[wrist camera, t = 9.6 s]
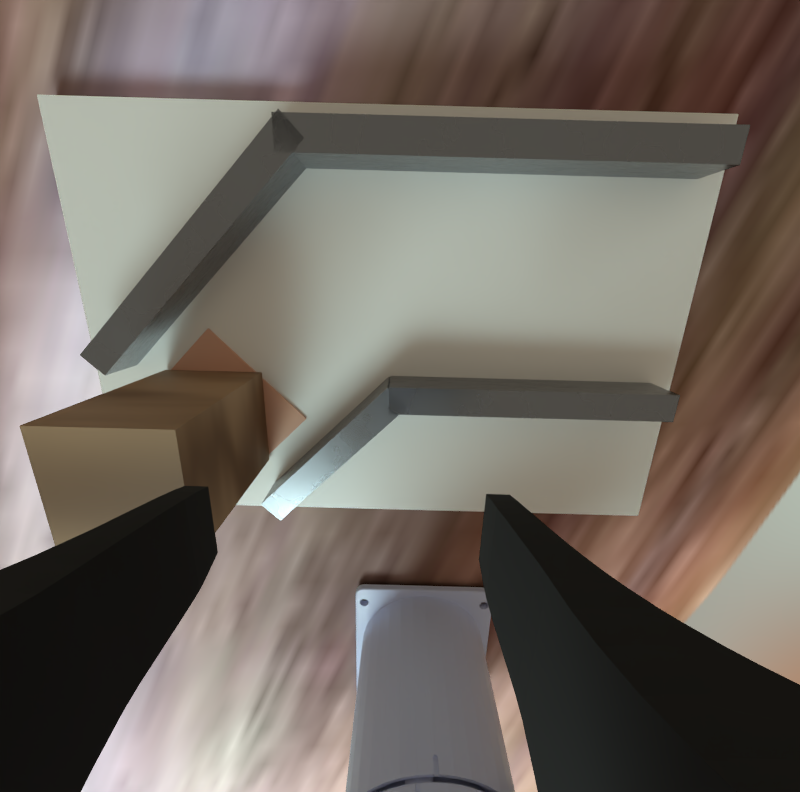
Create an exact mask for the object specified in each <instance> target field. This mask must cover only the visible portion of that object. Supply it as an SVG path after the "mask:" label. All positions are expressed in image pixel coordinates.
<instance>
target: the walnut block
mask: <svg viewBox="0 0 800 792" xmlns="http://www.w3.org/2000/svg"><path fill="white" fill-rule="evenodd" d="M20 429H21V432H22V436H23V439H24V442H25V446H26V449H27V452H28V456H29V459H30V463H31V466H32V469H33V473H34V476H35V479H36V483H37V486H38V489H39V493H40V496H41V499H42V503H43V506H44V510H45V513H46V516H47V520H48V523H49V526H50V530H51V533H52V536H53V540H54V543H55V546H57V545H59V544H61V543H63V542H65V541H68V540H70V539H72V538H74V537H76V536H78V535H81V534H83V533H85V532H87V531H89V530H91V529H94V528H96V527H98V526H100V525H102V524H104V523H106V522H108V521H110V520H112V519H114V518H116V517H118V516H120V515H122V514H124V513H126V512H128V511H130V510H133V509H135V508H137V507H139V506H141V505H143V504H145V503H147V502H149V501H151V500H153V499H155V498H157V497H159V496H162V495H164V494H166V493H168V492H170V491H173V490H175V489H178V488H180V487H183V486H208V488H209V495H210V502H211V509H212V516H213V523H214V530H215V532H216V531H217V530H218V528H219V527H220V526H221V524H222V523H223V522H224V520H225V519H226V517H227V516H228V515H229V513H230V512H231V511H232V509H233V508H234V507H235V505H236V504H237V503H238V501H239V500H240V499H241V497H242V496H243V494H244V493H245V492H246V490H247V489H248V488H249V486H250V485H251V484H252V482H253V481H254V480H255V478H256V477H257V476H258V474H259V473H260V471H261V470H262V469H263V467H264V466H265V465H266V463H267V462H268V461H269V448H268V437H267V426H266V414H265V403H264V391H263V380H262V372H232V371H193V370H164V371H161V372H158V373H156V374H153V375H151V376H148V377H145V378H143V379H140V380H138V381H135V382H132V383H130V384H127V385H125V386H122V387H119V388H117V389H114V390H112V391H109V392H106V393H104V394H101V395H99V396H96V397H93V398H91V399H88V400H86V401H83V402H80V403H78V404H75V405H72V406H70V407H67V408H65V409H62V410H59V411H57V412H54V413H52V414H49V415H46V416H44V417H41V418H39V419H36V420H33V421H31V422H28V423H26V424H23V425H20Z"/></svg>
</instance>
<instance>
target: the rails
mask: <svg viewBox="0 0 800 792" xmlns="http://www.w3.org/2000/svg"><path fill="white" fill-rule="evenodd" d="M271 115H272V117H271V118H270V119H269V121H268V122H267V123H266V124H265V125H264V127H263V128H262V129H261V130H260V132H259V133H258V134H257V135H256V137H255V138H254V139H253V140H252V142H251V143H250V144H249V145H248V147H247V148H246V149H245V150H244V152H243V153H242V154H241V155H240V157H239V158H238V159H237V160H236V162H235V163H234V164H233V165H232V167H231V168H230V169H229V170H228V171H227V173H226V174H225V175H224V176H223V178H222V179H221V180H220V181H219V183H218V184H217V185H216V186H215V188H214V189H213V190H212V191H211V193H210V194H209V195H208V196H207V198H206V199H205V200H204V201H203V203H202V204H201V205H200V206H199V208H198V209H197V210H196V211H195V213H194V214H193V215H192V216H191V217H190V219H189V220H188V221H187V222H186V224H185V225H184V226H183V227H182V229H181V230H180V231H179V232H178V234H177V235H176V236H175V237H174V239H173V240H172V241H171V242H170V244H169V245H168V246H167V247H166V249H165V250H164V251H163V252H162V254H161V255H160V256H159V257H158V259H157V260H156V261H155V262H154V263H153V265H152V266H151V267H150V268H149V270H148V271H147V272H146V273H145V275H144V276H143V277H142V278H141V280H140V281H139V282H138V283H137V285H136V286H135V287H134V288H133V290H132V291H131V292H130V293H129V295H128V296H127V297H126V298H125V300H124V301H123V302H122V303H121V305H120V306H119V307H118V308H117V309H116V311H115V312H114V313H113V314H112V316H111V317H110V318H109V319H108V321H107V322H106V323H105V324H104V326H103V327H102V328H101V329H100V331H99V332H98V333H97V334H96V336H95V337H94V338H93V339H92V341H91V342H90V343H89V344H88V346H87V347H86V348H85V349H84V351H83V352H82V353H81V354H80V355H81V356H82V357H83V358H84V359H85V360H87V361H88V362H89V363H90V364H91V365H93V366H94V367H95V368H96V369H97V370H99V371H100V372H101V373H102V374H104V375H108V374H111V373H114V372H117V371H121V370H124V369H127V368H130V367H133V366H136V365H138V364H139V362H140V361H141V360H142V359H143V358H144V357H145V355H146V354H147V353H148V352H149V351H150V350H151V348H152V347H153V346H154V345H155V344H156V343H157V341H158V340H159V339H160V338H161V337H162V336H163V334H164V333H165V332H166V331H167V330H168V329H169V327H170V326H171V325H172V324H173V323H174V322H175V320H176V319H177V318H178V317H179V316H180V315H181V314H182V312H183V311H184V310H185V309H186V308H187V307H188V305H189V304H190V303H191V302H192V301H193V300H194V298H195V297H196V296H197V295H198V294H199V293H200V291H201V290H202V289H203V288H204V287H205V286H206V284H207V283H208V282H209V281H210V280H211V279H212V277H213V276H214V275H215V274H216V273H217V272H218V270H219V269H220V268H221V267H222V266H223V265H224V263H225V262H226V261H227V260H228V259H229V258H230V256H231V255H232V254H233V253H234V252H235V251H236V249H237V248H238V247H239V246H240V245H241V244H242V242H243V241H244V240H245V239H246V238H247V237H248V235H249V234H250V233H251V232H252V231H253V230H254V229H255V227H256V226H257V225H258V224H259V223H260V222H261V220H262V219H263V218H264V217H265V216H266V215H267V213H268V212H269V211H270V210H271V209H272V208H273V206H274V205H275V204H276V203H277V202H278V201H279V199H280V198H281V197H282V196H283V195H284V194H285V192H286V191H287V190H288V189H289V188H290V187H291V185H292V184H293V183H294V182H295V181H296V180H297V178H298V177H299V176H300V175H301V174H302V173H303V171H304V170H305V169H306V168H309V169H346V170H382V171H419V172H455V173H492V174H528V175H565V176H601V177H638V178H674V179H699V178H702V177H705V176H708V175H711V174H714V173H717V172H720V171H723V170H726V169H729V168H732V167H735V166H738V165H740V163H741V159H742V155H743V151H744V147H745V143H746V140H747V136H748V132H749V128H750V125H737V124H701V123H664V122H628V121H591V120H555V119H518V118H482V117H446V116H409V115H373V114H336V113H300V112H281V111H280V110H279V109H277V111H276V112H271ZM679 397H680V395H678V394H675V393H673V392H671V391H668V390H666V389H664V388H661V387H659V386H656V385H654V384H652V383H640V382H603V381H566V380H529V379H492V378H455V377H419V376H391V377H388V378H387V379H386V380H385V381H384V382H382V383H381V384H380V385H379V386H378V387H377V388H376V389H375V390H374V391H373V392H372V393H371V394H369V395H368V396H367V397H366V398H365V399H364V400H363V401H362V402H361V403H360V404H359V405H358V406H357V407H355V408H354V409H353V410H352V411H351V412H350V413H349V414H348V415H347V416H346V417H345V418H344V419H343V420H341V421H340V422H339V423H338V424H337V425H336V426H335V427H334V428H333V429H332V430H331V431H330V432H328V433H327V434H326V435H325V436H324V437H323V438H322V439H321V440H320V441H319V442H318V443H317V444H316V445H314V446H313V447H312V448H311V449H310V450H309V451H308V452H307V453H306V454H305V455H304V456H303V457H302V458H300V459H299V460H298V461H297V462H296V463H295V464H294V465H293V466H292V467H291V468H290V469H289V470H287V471H286V472H285V473H284V474H283V475H282V476H281V477H280V478H279V479H278V480H277V481H276V482H275V483H274V484H273V486H272V488H271V489H270V491H269V492H268V494H267V496H266V497H265V499H264V500H263V502H262V503H261V505H262V506H263V507H265V508H266V509H267V510H268V511H270V512H271V513H272V514H273V515H274V516H276V517H277V518H278V519H279V520H282V519H283V518H284V517H285V516H286V515H287V514H288V513H289V512H291V511H292V510H293V509H294V508H295V507H296V506H297V505H298V504H299V503H301V502H302V501H303V500H304V499H305V498H306V497H307V496H308V495H310V494H311V493H312V492H313V491H314V490H315V489H316V488H317V487H319V486H320V485H321V484H322V483H323V482H324V481H325V480H326V479H328V478H329V477H330V476H331V475H332V474H333V473H334V472H335V471H337V470H338V469H339V468H340V467H341V466H342V465H343V464H344V463H346V462H347V461H348V460H349V459H350V458H351V457H352V456H353V455H355V454H356V453H357V452H358V451H359V450H360V449H361V448H362V447H364V446H365V445H366V444H367V443H368V442H369V441H370V440H371V439H373V438H374V437H375V436H376V435H377V434H378V433H379V432H380V431H382V430H383V429H384V428H385V427H386V426H387V425H388V424H389V423H391V422H392V421H393V420H394V419H395V418H396V417H397V416H398V415H429V416H466V417H503V418H540V419H577V420H614V421H651V422H673V420H674V416H675V413H676V409H677V405H678V401H679Z"/></svg>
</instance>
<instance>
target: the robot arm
mask: <svg viewBox="0 0 800 792" xmlns="http://www.w3.org/2000/svg"><path fill="white" fill-rule="evenodd" d="M217 553H218V551H217V544H216V537H215V530H214V523H213V516H212V509H211V502H210V495H209V488H208V486H183V487H180V488H178V489H175V490H173V491H170V492H168V493H166V494H164V495H162V496H159V497H157V498H155V499H153V500H151V501H149V502H147V503H145V504H143V505H141V506H139V507H137V508H135V509H133V510H130V511H128V512H126V513H124V514H122V515H120V516H118V517H116V518H114V519H112V520H110V521H108V522H106V523H104V524H102V525H100V526H98V527H96V528H94V529H91V530H89V531H87V532H85V533H83V534H81V535H78V536H76V537H74V538H72V539H70V540H68V541H65V542H63V543H61V544H59V545H57V546H54V547H52V548H50V549H48V550H46V551H44V552H41V553H39V554H37V555H35V556H32V557H30V558H28V559H25V560H23V561H21V562H18V563H16V564H13V565H11V566H9V567H6V568H4V569H1V570H0V792H81V790H82V788H83V786H84V784H85V782H86V780H87V778H88V776H89V774H90V772H91V770H92V768H93V766H94V765H95V763H96V761H97V759H98V757H99V755H100V753H101V752H102V750H103V748H104V746H105V744H106V742H107V740H108V738H109V737H110V735H111V733H112V731H113V729H114V727H115V725H116V724H117V722H118V720H119V718H120V716H121V714H122V712H123V711H124V709H125V707H126V705H127V704H128V702H129V701H130V699H131V697H132V696H133V694H134V692H135V691H136V689H137V687H138V686H139V684H140V682H141V681H142V679H143V678H144V676H145V675H146V673H147V672H148V670H149V668H150V667H151V665H152V664H153V662H154V661H155V659H156V658H157V656H158V655H159V653H160V652H161V650H162V648H163V647H164V645H165V644H166V642H167V641H168V639H169V638H170V636H171V635H172V633H173V631H174V630H175V628H176V627H177V625H178V624H179V622H180V621H181V619H182V617H183V616H184V614H185V613H186V611H187V610H188V608H189V606H190V605H191V603H192V602H193V600H194V599H195V597H196V595H197V594H198V592H199V590H200V589H201V587H202V585H203V583H204V580H205V578H206V576H207V574H208V572H209V570H210V568H211V566H212V564H213V562H214V559H215V557H216V555H217ZM479 562H480V568H481V573H482V579H483V585H484V587H450V586H413V585H376V584H362V585H360V586H358V587H357V590H356V673H357V695H356V704H355V713H354V722H353V731H352V740H351V749H350V758H349V767H348V776H347V785H346V792H515V790H514V785H513V781H512V776H511V772H510V767H509V762H508V758H507V753H506V749H505V744H504V739H503V735H502V730H501V726H500V721H499V716H498V712H497V707H496V703H495V698H494V694H493V689H492V684H491V680H490V675H489V671H488V666H487V661H486V651H487V643H488V635H489V627H490V619H491V616H492V620H493V623H494V626H495V630H496V633H497V636H498V639H499V643H500V646H501V649H502V652H503V655H504V659H505V662H506V665H507V668H508V672H509V675H510V678H511V681H512V685H513V688H514V691H515V694H516V698H517V702H518V705H519V709H520V713H521V717H522V720H523V725H524V730H525V734H526V739H527V743H528V748H529V752H530V757H531V762H532V766H533V771H534V775H535V780H536V785H537V790H538V792H800V685H799V684H797V683H795V682H793V681H791V680H789V679H787V678H785V677H783V676H781V675H779V674H777V673H775V672H773V671H771V670H769V669H767V668H765V667H763V666H761V665H758V664H757V663H755V662H753V661H751V660H749V659H747V658H745V657H744V656H742V655H740V654H738V653H736V652H734V651H732V650H730V649H728V648H727V647H725V646H723V645H721V644H719V643H717V642H716V641H714V640H712V639H711V638H709V637H707V636H705V635H704V634H702V633H700V632H698V631H696V630H695V629H693V628H691V627H689V626H688V625H686V624H684V623H682V622H681V621H679V620H677V619H676V618H674V617H672V616H671V615H669V614H667V613H666V612H664V611H662V610H661V609H659V608H658V607H656V606H654V605H653V604H651V603H650V602H648V601H647V600H645V599H644V598H642V597H641V596H639V595H638V594H636V593H635V592H633V591H631V590H630V589H628V588H627V587H625V586H624V585H622V584H621V583H620V582H618V581H617V580H615V579H614V578H612V577H611V576H609V575H608V574H607V573H605V572H604V571H603V570H601V569H600V568H599V567H597V566H596V565H595V564H593V563H592V562H591V561H589V560H588V559H587V558H585V557H584V556H583V555H581V554H580V553H579V552H578V551H576V550H575V549H574V548H573V547H571V546H570V545H569V544H568V543H566V542H565V541H564V540H563V539H561V538H560V537H559V536H558V535H557V534H555V533H554V532H553V531H552V530H551V529H550V528H548V527H547V526H546V525H545V524H544V523H543V522H541V521H540V520H539V519H538V518H537V517H536V516H534V515H533V514H532V513H531V512H530V511H529V510H528V509H526V508H525V507H524V506H523V505H522V504H521V503H519V502H518V501H517V500H516V499H515V498H513V497H512V496H511V495H506V494H486V500H485V509H484V518H483V528H482V537H481V546H480V556H479ZM362 599H366V601H364V600H362ZM483 602H486V603H484V604H481V603H483Z"/></svg>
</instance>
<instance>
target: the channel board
mask: <svg viewBox="0 0 800 792" xmlns="http://www.w3.org/2000/svg"><path fill="white" fill-rule="evenodd" d="M37 97H38V102H39V106H40V111H41V115H42V120H43V125H44V129H45V134H46V138H47V143H48V147H49V152H50V156H51V161H52V166H53V170H54V175H55V179H56V184H57V188H58V193H59V197H60V202H61V206H62V211H63V216H64V220H65V225H66V229H67V234H68V238H69V243H70V247H71V252H72V256H73V261H74V266H75V270H76V275H77V279H78V284H79V288H80V293H81V297H82V302H83V307H84V311H85V316H86V320H87V325H88V329H89V334H90V338H91V341H92V339H93V338H94V337H95V336H96V334H97V333H98V332H99V331H100V329H101V328H102V327H103V326H104V324H105V323H106V322H107V321H108V319H109V318H110V317H111V316H112V314H113V313H114V312H115V311H116V309H117V308H118V307H119V306H120V305H121V303H122V302H123V301H124V300H125V298H126V297H127V296H128V295H129V293H130V292H131V291H132V290H133V288H134V287H135V286H136V285H137V283H138V282H139V281H140V280H141V278H142V277H143V276H144V275H145V273H146V272H147V271H148V270H149V268H150V267H151V266H152V265H153V263H154V262H155V261H156V260H157V259H158V257H159V256H160V255H161V254H162V252H163V251H164V250H165V249H166V247H167V246H168V245H169V244H170V242H171V241H172V240H173V239H174V237H175V236H176V235H177V234H178V232H179V231H180V230H181V229H182V227H183V226H184V225H185V224H186V222H187V221H188V220H189V219H190V217H191V216H192V215H193V214H194V213H195V211H196V210H197V209H198V208H199V206H200V205H201V204H202V203H203V201H204V200H205V199H206V198H207V196H208V195H209V194H210V193H211V191H212V190H213V189H214V188H215V186H216V185H217V184H218V183H219V181H220V180H221V179H222V178H223V176H224V175H225V174H226V173H227V171H228V170H229V169H230V168H231V167H232V165H233V164H234V163H235V162H236V160H237V159H238V158H239V157H240V155H241V154H242V153H243V152H244V150H245V149H246V148H247V147H248V145H249V144H250V143H251V142H252V140H253V139H254V138H255V137H256V135H257V134H258V133H259V132H260V130H261V129H262V128H263V127H264V125H265V124H266V123H267V122H268V121H269V119H270V118H271V117H272V115H271V112H276V111H277V109H279V110H280V111H281V112H300V113H336V114H373V115H409V116H446V117H482V118H518V119H555V120H591V121H628V122H664V123H701V124H736V123H737V119H738V115H739V114H721V113H685V112H649V111H612V110H576V109H539V108H503V107H467V106H430V105H394V104H357V103H321V102H284V101H248V100H212V99H175V98H139V97H102V96H66V95H37ZM724 171H725V170H723V171H720V172H717V173H714V174H711V175H708V176H705V177H702V178H699V179H674V178H638V177H601V176H565V175H528V174H492V173H455V172H419V171H382V170H346V169H309V168H306V169H305V170H304V171H303V173H302V174H301V175H300V176H299V177H298V178H297V180H296V181H295V182H294V183H293V184H292V185H291V187H290V188H289V189H288V190H287V191H286V192H285V194H284V195H283V196H282V197H281V198H280V199H279V201H278V202H277V203H276V204H275V205H274V206H273V208H272V209H271V210H270V211H269V212H268V213H267V215H266V216H265V217H264V218H263V219H262V220H261V222H260V223H259V224H258V225H257V226H256V227H255V229H254V230H253V231H252V232H251V233H250V234H249V235H248V237H247V238H246V239H245V240H244V241H243V242H242V244H241V245H240V246H239V247H238V248H237V249H236V251H235V252H234V253H233V254H232V255H231V256H230V258H229V259H228V260H227V261H226V262H225V263H224V265H223V266H222V267H221V268H220V269H219V270H218V272H217V273H216V274H215V275H214V276H213V277H212V279H211V280H210V281H209V282H208V283H207V284H206V286H205V287H204V288H203V289H202V290H201V291H200V293H199V294H198V295H197V296H196V297H195V298H194V300H193V301H192V302H191V303H190V304H189V305H188V307H187V308H186V309H185V310H184V311H183V312H182V314H181V315H180V316H179V317H178V318H177V319H176V320H175V322H174V323H173V324H172V325H171V326H170V327H169V329H168V330H167V331H166V332H165V333H164V334H163V336H162V337H161V338H160V339H159V340H158V341H157V343H156V344H155V345H154V346H153V347H152V348H151V350H150V351H149V352H148V353H147V354H146V355H145V357H144V358H143V359H142V360H141V361H140V362H139V364H138V365H136V366H133V367H130V368H127V369H124V370H121V371H117V372H114V373H111V374H108V375H104V374H102V373H101V372H100V371H99V370H98V375H99V379H100V384H101V388H102V393H103V394H104V393H106V392H109V391H112V390H114V389H117V388H119V387H122V386H125V385H127V384H130V383H132V382H135V381H138V380H140V379H143V378H145V377H148V376H151V375H153V374H156V373H158V372H161V371H164V370H193V371H232V372H262V380H263V391H264V403H265V414H266V426H267V437H268V448H269V461H268V462H267V463H266V465H265V466H264V467H263V469H262V470H261V471H260V473H259V474H258V476H257V477H256V478H255V480H254V481H253V482H252V484H251V485H250V486H249V488H248V489H247V490H246V492H245V493H244V494H243V496H242V497H241V499H240V500H239V501H238V503H237V504H236V505H255V506H262V505H261V503H262V502H263V500H264V499H265V497H266V496H267V494H268V492H269V491H270V489H271V488H272V486H273V484H274V483H275V482H276V481H277V480H278V479H279V478H280V477H281V476H282V475H283V474H284V473H285V472H286V471H287V470H289V469H290V468H291V467H292V466H293V465H294V464H295V463H296V462H297V461H298V460H299V459H300V458H302V457H303V456H304V455H305V454H306V453H307V452H308V451H309V450H310V449H311V448H312V447H313V446H314V445H316V444H317V443H318V442H319V441H320V440H321V439H322V438H323V437H324V436H325V435H326V434H327V433H328V432H330V431H331V430H332V429H333V428H334V427H335V426H336V425H337V424H338V423H339V422H340V421H341V420H343V419H344V418H345V417H346V416H347V415H348V414H349V413H350V412H351V411H352V410H353V409H354V408H355V407H357V406H358V405H359V404H360V403H361V402H362V401H363V400H364V399H365V398H366V397H367V396H368V395H369V394H371V393H372V392H373V391H374V390H375V389H376V388H377V387H378V386H379V385H380V384H381V383H382V382H384V381H385V380H386V379H387V378H388V377H391V376H419V377H455V378H492V379H529V380H566V381H603V382H640V383H652V384H654V385H656V386H659V387H661V388H664V389H666V390H668V391H669V390H670V386H671V382H672V378H673V374H674V370H675V366H676V362H677V358H678V355H679V351H680V347H681V343H682V339H683V335H684V331H685V327H686V323H687V319H688V315H689V311H690V307H691V303H692V299H693V295H694V291H695V287H696V283H697V279H698V275H699V271H700V267H701V263H702V259H703V255H704V251H705V247H706V243H707V239H708V235H709V231H710V227H711V223H712V219H713V215H714V211H715V207H716V203H717V199H718V195H719V191H720V187H721V183H722V179H723V175H724ZM660 426H661V422H651V421H614V420H577V419H540V418H503V417H466V416H429V415H398V416H397V417H396V418H395V419H394V420H393V421H392V422H391V423H389V424H388V425H387V426H386V427H385V428H384V429H383V430H382V431H380V432H379V433H378V434H377V435H376V436H375V437H374V438H373V439H371V440H370V441H369V442H368V443H367V444H366V445H365V446H364V447H362V448H361V449H360V450H359V451H358V452H357V453H356V454H355V455H353V456H352V457H351V458H350V459H349V460H348V461H347V462H346V463H344V464H343V465H342V466H341V467H340V468H339V469H338V470H337V471H335V472H334V473H333V474H332V475H331V476H330V477H329V478H328V479H326V480H325V481H324V482H323V483H322V484H321V485H320V486H319V487H317V488H316V489H315V490H314V491H313V492H312V493H311V494H310V495H308V496H307V497H306V498H305V499H304V500H303V501H302V502H301V503H299V504H298V505H297V506H296V507H330V508H367V509H404V510H441V511H478V512H484V509H485V500H486V494H506V495H511V496H512V497H513V498H515V499H516V500H517V501H518V502H519V503H521V504H522V505H523V506H524V507H525V508H526V509H528V510H529V511H530V512H531V513H552V514H590V515H627V516H638V514H639V510H640V506H641V502H642V498H643V494H644V490H645V486H646V482H647V478H648V474H649V470H650V466H651V462H652V458H653V454H654V450H655V446H656V442H657V438H658V434H659V430H660Z"/></svg>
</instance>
